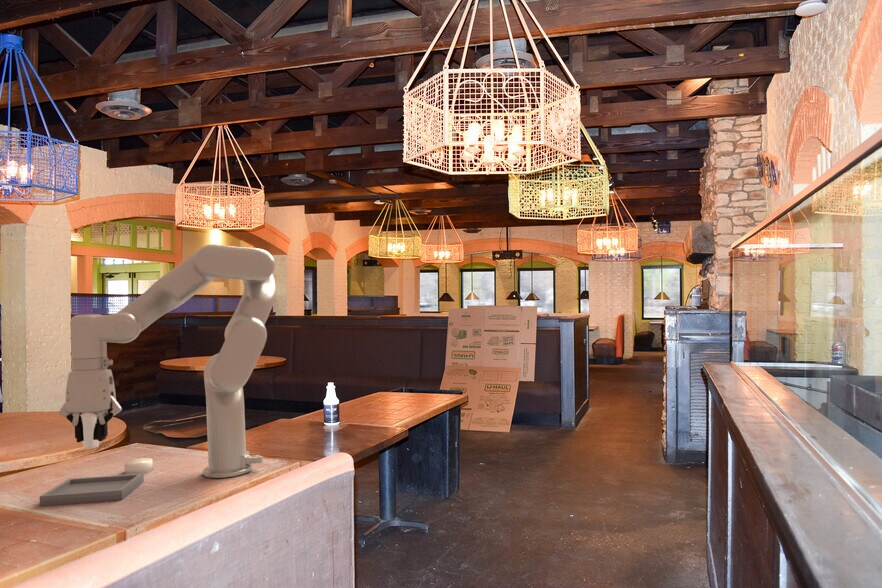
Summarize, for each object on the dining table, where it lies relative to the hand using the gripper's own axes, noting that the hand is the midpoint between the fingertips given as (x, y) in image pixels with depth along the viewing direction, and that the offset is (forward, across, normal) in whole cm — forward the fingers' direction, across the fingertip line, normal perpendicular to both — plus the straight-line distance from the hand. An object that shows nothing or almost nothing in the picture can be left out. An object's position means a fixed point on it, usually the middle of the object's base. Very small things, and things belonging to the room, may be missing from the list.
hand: (91, 439), depth 150 cm
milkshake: (+2, 0, 0) cm, 2 cm away
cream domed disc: (+13, -4, -18) cm, 23 cm away
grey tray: (+13, 0, 0) cm, 13 cm away
